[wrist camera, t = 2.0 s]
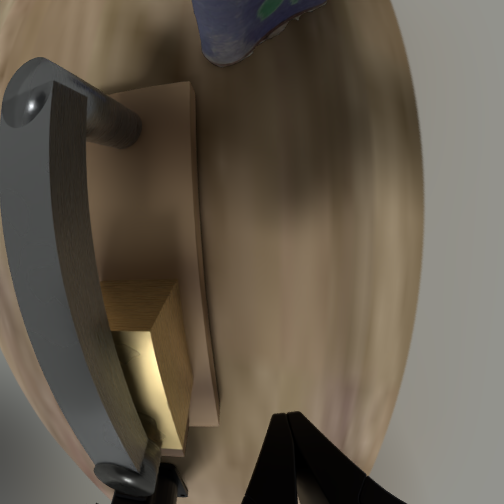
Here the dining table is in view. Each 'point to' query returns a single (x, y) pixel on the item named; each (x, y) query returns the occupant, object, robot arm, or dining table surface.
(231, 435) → the dining table surface
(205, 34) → the flask
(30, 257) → the lever
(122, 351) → the light wooden cube
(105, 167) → the plane body
